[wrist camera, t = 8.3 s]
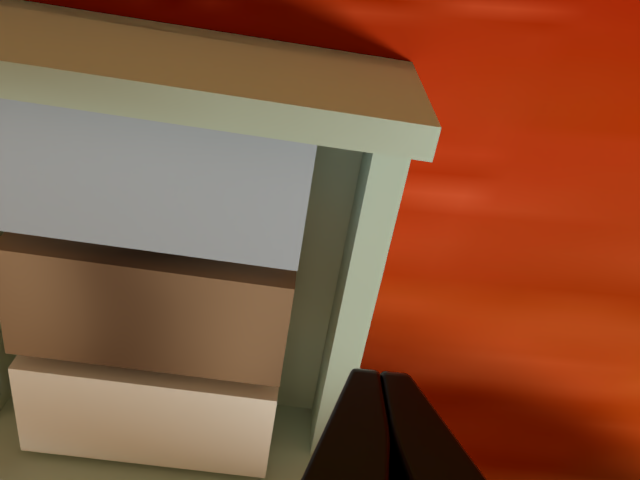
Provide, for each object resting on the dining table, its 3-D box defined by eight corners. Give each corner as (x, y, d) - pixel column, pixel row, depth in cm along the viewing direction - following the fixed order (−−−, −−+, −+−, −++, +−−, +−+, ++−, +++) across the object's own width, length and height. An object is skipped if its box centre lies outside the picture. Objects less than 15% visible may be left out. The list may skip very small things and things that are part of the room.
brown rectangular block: (299, 244, 18) (294, 289, 16) (284, 337, 20) (279, 387, 18) (27, 207, 17) (-12, 248, 15) (39, 305, 19) (5, 353, 17)
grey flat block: (319, 110, 16) (317, 143, 14) (301, 227, 18) (297, 270, 16) (11, 64, 15) (-37, 90, 13) (25, 189, 17) (-15, 228, 15)
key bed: (411, 61, 17) (441, 127, 13) (333, 407, 24) (333, 531, 20) (-47, -11, 17) (-199, 30, 12) (12, 367, 24) (-69, 487, 19)
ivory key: (282, 350, 20) (277, 401, 18) (271, 424, 22) (265, 478, 20) (40, 319, 20) (7, 368, 18) (49, 398, 21) (20, 450, 19)
